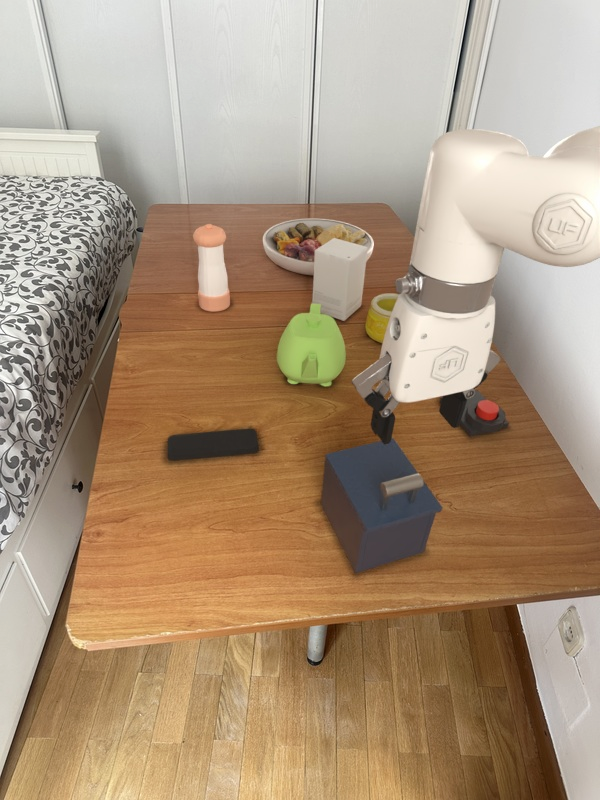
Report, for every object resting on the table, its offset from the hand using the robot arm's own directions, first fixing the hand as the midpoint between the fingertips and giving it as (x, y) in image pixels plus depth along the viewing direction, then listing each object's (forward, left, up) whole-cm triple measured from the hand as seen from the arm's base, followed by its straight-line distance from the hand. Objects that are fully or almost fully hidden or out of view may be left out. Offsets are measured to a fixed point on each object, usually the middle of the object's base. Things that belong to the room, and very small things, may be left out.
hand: (415, 427), depth 60 cm
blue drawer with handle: (+5, 0, -14) cm, 15 cm away
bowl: (+93, -26, -24) cm, 99 cm away
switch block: (+22, -29, -24) cm, 44 cm away
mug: (+50, -27, -24) cm, 62 cm away
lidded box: (+5, 0, -24) cm, 24 cm away
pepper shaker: (+75, +7, -24) cm, 79 cm away
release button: (+19, -29, -21) cm, 41 cm away
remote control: (+28, +18, -24) cm, 41 cm away
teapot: (+43, -5, -24) cm, 49 cm away
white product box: (+65, -20, -24) cm, 72 cm away
